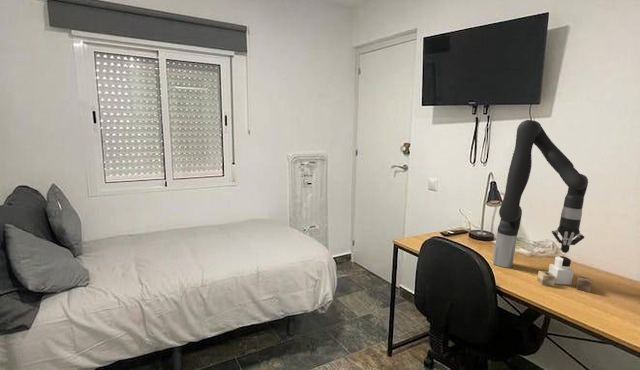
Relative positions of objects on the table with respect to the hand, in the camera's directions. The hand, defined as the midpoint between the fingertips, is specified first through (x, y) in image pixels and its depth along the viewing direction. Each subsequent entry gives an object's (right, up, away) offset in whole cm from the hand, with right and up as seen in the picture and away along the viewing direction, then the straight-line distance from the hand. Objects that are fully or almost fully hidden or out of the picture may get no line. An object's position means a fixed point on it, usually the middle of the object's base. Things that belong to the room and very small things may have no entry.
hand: (564, 252), depth 159 cm
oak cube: (-9, -15, 0) cm, 17 cm away
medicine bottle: (-1, -15, +3) cm, 15 cm away
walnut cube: (+5, -16, -5) cm, 18 cm away
